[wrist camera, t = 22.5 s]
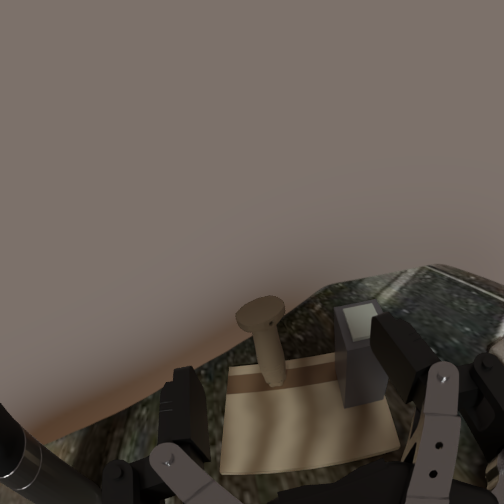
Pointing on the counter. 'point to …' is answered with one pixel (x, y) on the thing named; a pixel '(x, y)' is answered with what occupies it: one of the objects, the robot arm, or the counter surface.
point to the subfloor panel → (298, 421)
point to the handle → (265, 335)
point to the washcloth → (498, 350)
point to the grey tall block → (357, 355)
